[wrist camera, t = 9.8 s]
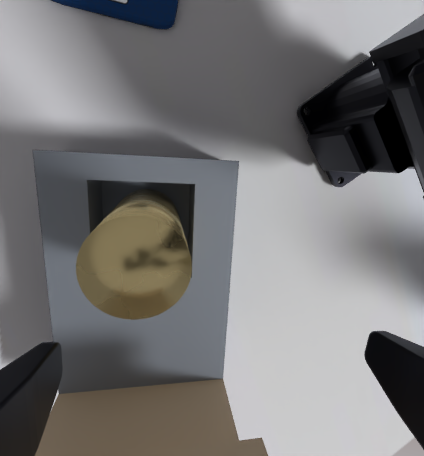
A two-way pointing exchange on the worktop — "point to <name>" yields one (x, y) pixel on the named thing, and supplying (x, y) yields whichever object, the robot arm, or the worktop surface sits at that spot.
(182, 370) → the socket block
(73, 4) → the cell phone
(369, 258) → the worktop surface
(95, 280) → the peg
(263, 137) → the worktop surface
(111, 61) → the worktop surface
